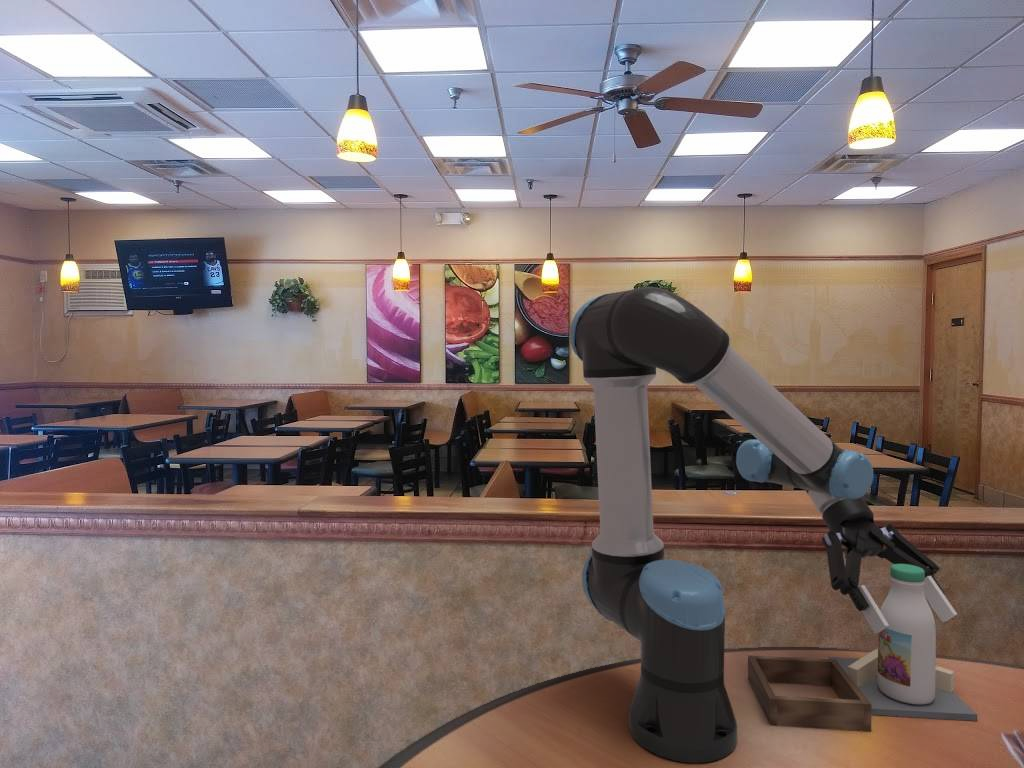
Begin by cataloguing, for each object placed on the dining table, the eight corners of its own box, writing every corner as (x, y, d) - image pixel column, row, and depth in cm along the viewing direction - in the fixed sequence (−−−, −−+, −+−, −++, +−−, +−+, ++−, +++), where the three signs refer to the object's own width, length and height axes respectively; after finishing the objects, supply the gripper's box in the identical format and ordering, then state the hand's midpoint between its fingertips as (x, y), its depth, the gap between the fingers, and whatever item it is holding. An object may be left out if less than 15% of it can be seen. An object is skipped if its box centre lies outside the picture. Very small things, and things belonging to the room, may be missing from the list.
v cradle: (866, 714, 97) (866, 688, 97) (826, 662, 114) (826, 640, 114) (980, 721, 95) (980, 694, 95) (922, 666, 112) (922, 644, 112)
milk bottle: (918, 682, 104) (920, 560, 104) (945, 707, 97) (947, 575, 96) (868, 680, 105) (870, 559, 105) (892, 705, 97) (893, 574, 97)
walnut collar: (769, 725, 94) (769, 698, 94) (747, 678, 108) (747, 655, 108) (871, 731, 93) (871, 704, 92) (835, 683, 106) (835, 659, 106)
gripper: (884, 512, 119) (960, 623, 105) (771, 523, 112) (837, 644, 98) (909, 489, 114) (993, 603, 100) (793, 499, 107) (866, 623, 93)
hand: (916, 624), depth 99 cm, fingers open, 13 cm apart
